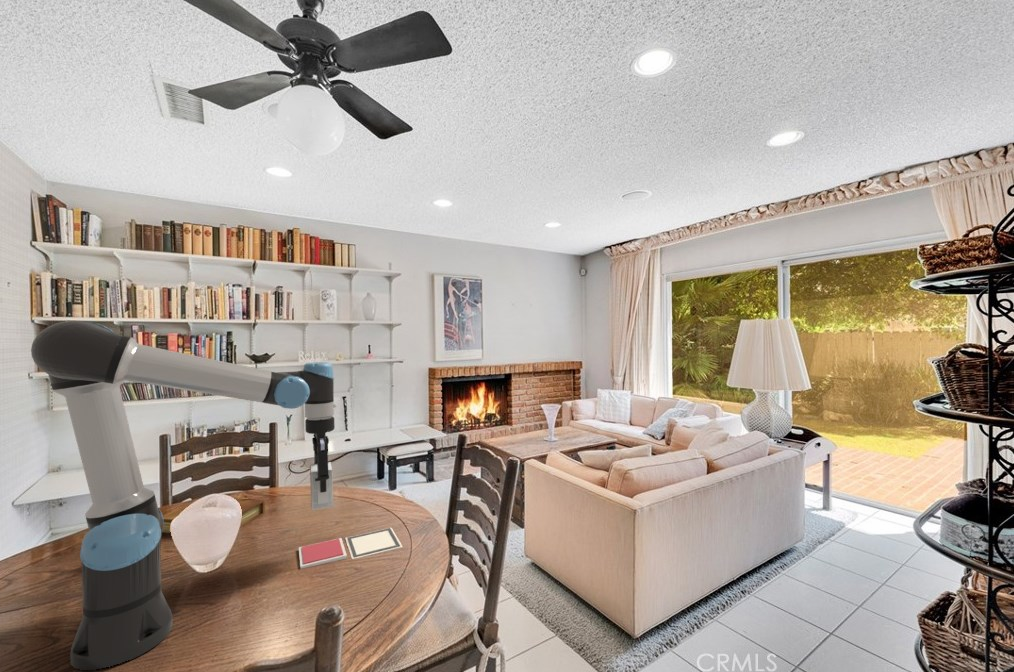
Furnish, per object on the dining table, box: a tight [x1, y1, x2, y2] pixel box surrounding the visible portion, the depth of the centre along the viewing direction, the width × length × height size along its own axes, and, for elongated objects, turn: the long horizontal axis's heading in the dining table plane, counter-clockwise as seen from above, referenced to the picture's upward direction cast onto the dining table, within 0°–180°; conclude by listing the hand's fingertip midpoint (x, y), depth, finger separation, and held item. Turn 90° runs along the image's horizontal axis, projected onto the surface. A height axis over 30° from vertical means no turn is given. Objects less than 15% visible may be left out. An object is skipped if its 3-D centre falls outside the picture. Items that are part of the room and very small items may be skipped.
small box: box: [309, 461, 334, 511], centre depth 121 cm, size 8×6×10 cm
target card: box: [344, 527, 404, 560], centre depth 128 cm, size 14×14×1 cm
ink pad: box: [298, 537, 348, 570], centre depth 121 cm, size 12×12×2 cm
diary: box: [162, 497, 266, 534], centre depth 142 cm, size 23×19×6 cm
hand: (321, 497), depth 121 cm, fingers closed on small box, 8 cm apart
